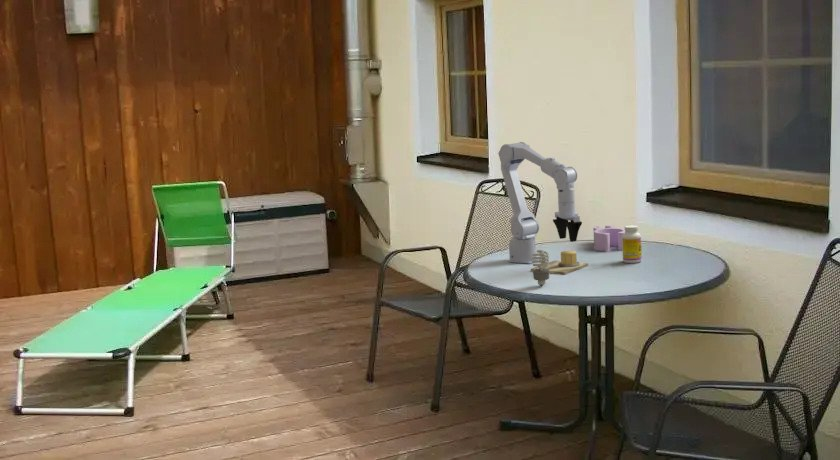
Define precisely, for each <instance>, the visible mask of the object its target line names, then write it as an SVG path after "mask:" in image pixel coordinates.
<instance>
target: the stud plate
mask: <svg viewBox="0 0 840 460" xmlns="http://www.w3.org/2000/svg"><path fill="white" fill-rule="evenodd" d="M545 265H547V264H545ZM545 265H542V266H541V267H543V266H545ZM588 266H589V263H587V262H579V261H577V264H573V265H563V264H561V260H552V261H549V266H548V267H546V268H545V269H548V270H549V274H556V275H568V274H570V273H573V272H575V271H578V270H581V269H583V268H586V267H588ZM535 269H539V267H538V266H534V267H533V268H530V272H533V270H535Z"/></svg>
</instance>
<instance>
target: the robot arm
mask: <svg viewBox="0 0 840 460" xmlns="http://www.w3.org/2000/svg"><path fill="white" fill-rule="evenodd" d="M497 154H498V157H499V161H500V170H501V174H502V177H503V181H504V184H505V189H506V192H507V195H508V198H509V202H510V205H511V210H512V213H513V215H512V216H511V218H510V220H509V221H510V222H509V223H510V233H511V234H512V236H513V237H511V238H510V239H509V242H508V244H509V245H508V250H509V251H508V253H509V260H508V262H509V263H516V264H517V263H519V264H520V263H521V264H528V265H529V264H530V265H531V264H533V263H532V261H533V259H532V257H537V256H532V254H535V253H537V248H536V237H537V234H539V230H540V225H539V221H538V220H537V219H536V216H535V214H534V213H533V212H531V211H530V210H529V208H528V205H527V202H526V198H525V195H524V192H523V187H522V184H521V181H520V177H519V173H518V168H519V166H520V165H522V163H524V160H526V161H529V162H531V163H532V164H534V165H535V166H539V168H540V170H541V172H542V173H544V174H545V175H547V176H549V177H551V178H552V179H553V180H554V183H555V185H556V189H557V198H558V199H557V201H558V202H557V205H558V207H557V208H558V211H556V212H555V211H554V219H552V222H553V224H554V226H555V227H556V230H557V234H558V238H559V239H566V238H567V230H568V236H569V237H568V238H569V241H570V242H577V240H578V234H579V231H580V228H581V226H582V223H583V222H582V221H581V218H580V216H579V213H578V212H576V203H575V201H576V200H575V198H576V197H575V182H576V181H577V179H578V172H577V170H576V169H575V168H574V167H573V166H566V165H565V164H563V163H560V162H558V160H556V158H555V157H547V158H546V157H544V156H543V155H541V154H540V153H538V152H537V151H536V150H535V149H533V148H531V146H530V145H529V144H527V143H525V142H524V141H519V142H515V143H505V144H503V145H501V147H500V149H499V150H498V153H497ZM535 260H542V259H535Z"/></svg>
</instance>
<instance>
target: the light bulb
mask: <svg viewBox="0 0 840 460" xmlns="http://www.w3.org/2000/svg"><path fill="white" fill-rule="evenodd" d="M532 256H536V257H532V259H533V261H532V263H531V264H532V266H533V267H539V269H535V270H533V271H532V277H533V279H534V280H535V281H537V284H538V285H539V286H541V287H543V286H544V285H546V281H547V280H549V279H550V273H549V270H548V269H545V268H546V267H548V266H549V262H550V256H549V252H547V251H545V250H542V249H536V253H535V254H532ZM535 259H541V260H535ZM545 264H547V265H545ZM542 265H545V266H543V267H541V266H542Z"/></svg>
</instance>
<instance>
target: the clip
mask: <svg viewBox="0 0 840 460" xmlns="http://www.w3.org/2000/svg"><path fill="white" fill-rule="evenodd" d="M592 229H593V245H594V246H593V247H594V250H596V251H600V252H605V253H609V252H611V247H612V246H614V247H617V250H618V251H621V252H623V249H622V235H623V234H624V233H625V228H621V227H620V228H619V227H615V226H614V225H605V226H604V228H601V227H600V226H599V225H596V226H593V228H592Z"/></svg>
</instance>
